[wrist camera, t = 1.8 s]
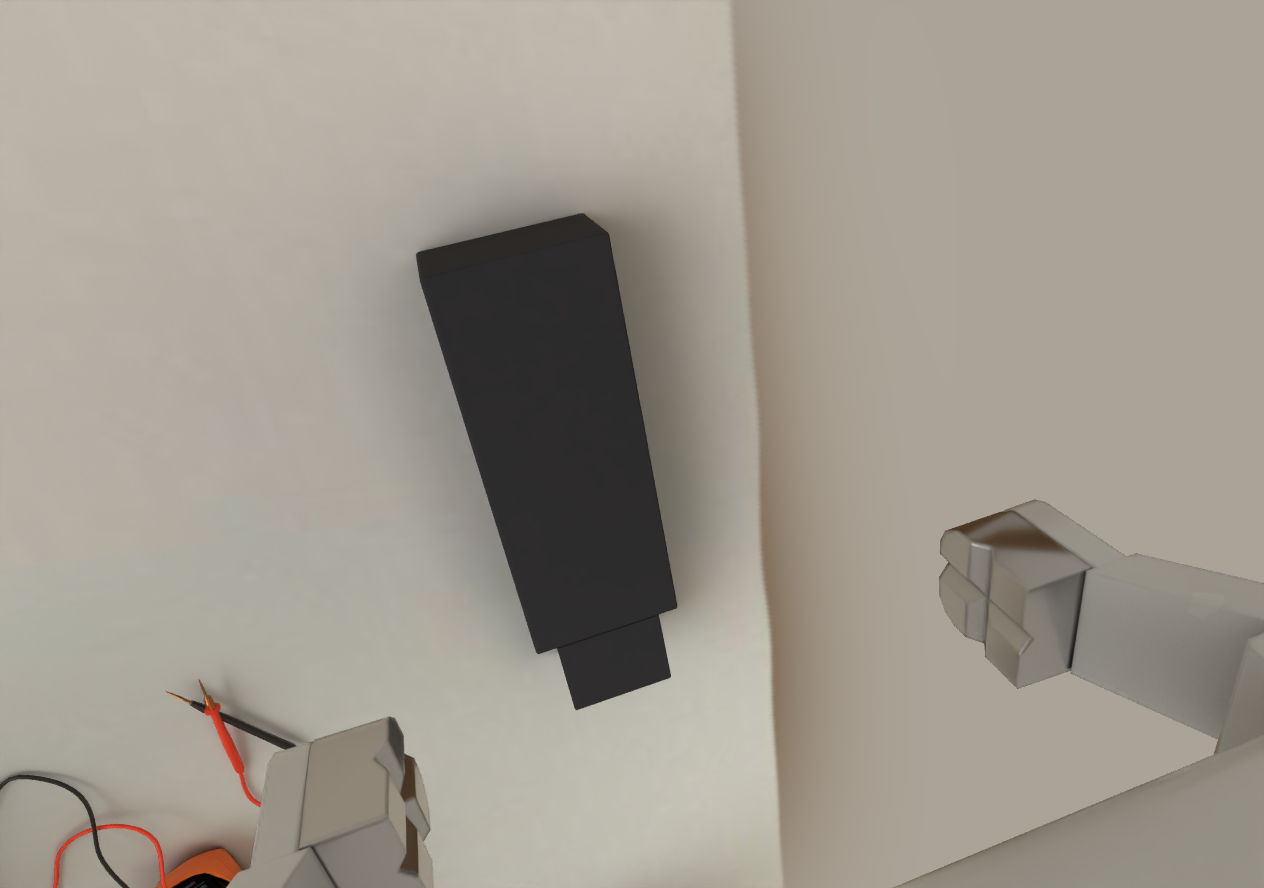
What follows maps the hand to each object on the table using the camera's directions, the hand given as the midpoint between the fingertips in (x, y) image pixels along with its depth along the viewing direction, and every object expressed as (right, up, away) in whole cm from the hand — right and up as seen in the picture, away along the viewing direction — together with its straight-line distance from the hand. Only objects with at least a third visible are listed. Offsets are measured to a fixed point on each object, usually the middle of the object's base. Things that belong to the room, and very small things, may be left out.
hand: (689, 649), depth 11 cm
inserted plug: (-3, +2, +15) cm, 16 cm away
